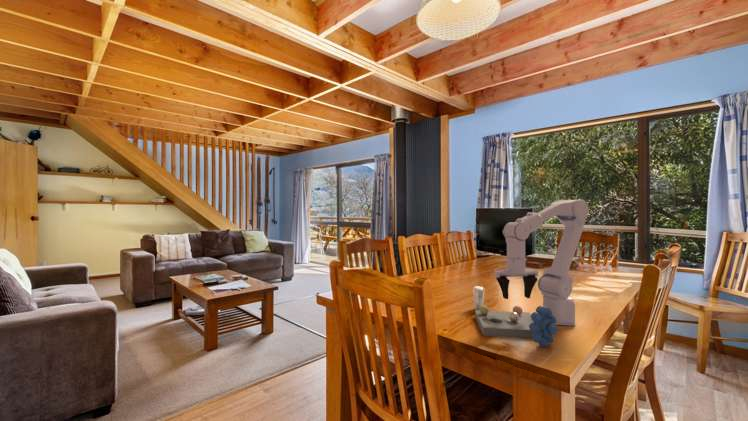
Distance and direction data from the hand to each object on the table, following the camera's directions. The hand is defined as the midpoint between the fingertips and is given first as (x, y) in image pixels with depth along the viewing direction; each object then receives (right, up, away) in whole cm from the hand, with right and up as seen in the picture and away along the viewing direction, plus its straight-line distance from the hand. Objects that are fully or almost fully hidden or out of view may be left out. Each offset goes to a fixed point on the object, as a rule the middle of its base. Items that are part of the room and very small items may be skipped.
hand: (516, 297), depth 109 cm
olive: (-9, -6, +6) cm, 12 cm away
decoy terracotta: (+3, -6, +5) cm, 8 cm away
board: (-3, -10, 0) cm, 10 cm away
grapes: (+1, -10, -16) cm, 19 cm away
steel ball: (-2, -6, -2) cm, 6 cm away
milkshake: (-6, -10, +19) cm, 22 cm away
